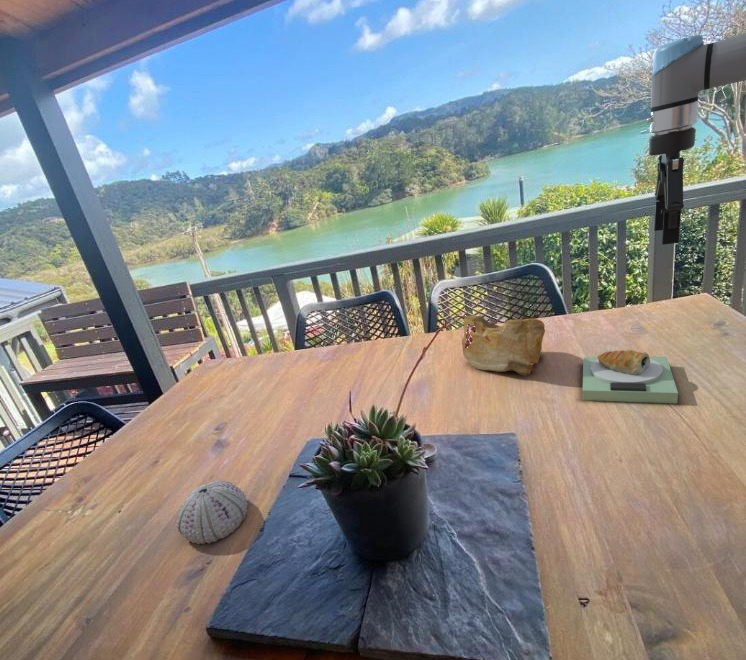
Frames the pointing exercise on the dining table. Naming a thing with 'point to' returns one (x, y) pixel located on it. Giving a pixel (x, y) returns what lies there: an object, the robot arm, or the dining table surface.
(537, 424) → the dining table surface
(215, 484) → the sea urchin shell
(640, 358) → the pastry
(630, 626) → the dining table surface
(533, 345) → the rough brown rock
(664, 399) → the scale
